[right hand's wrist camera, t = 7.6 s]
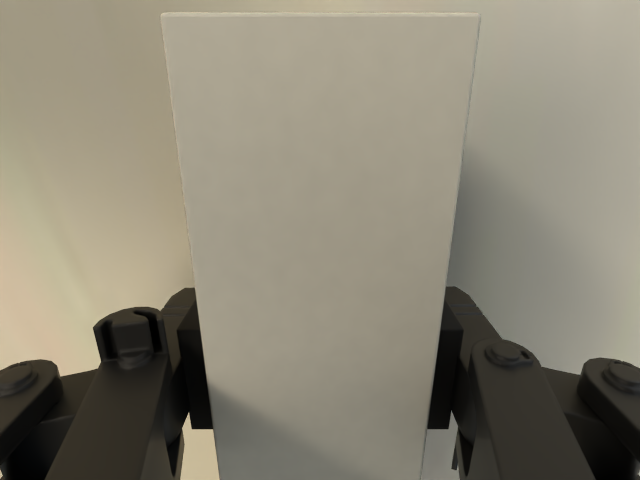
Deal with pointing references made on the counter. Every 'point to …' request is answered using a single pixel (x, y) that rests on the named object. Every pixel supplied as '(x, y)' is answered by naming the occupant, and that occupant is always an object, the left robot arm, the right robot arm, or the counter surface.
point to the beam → (320, 227)
